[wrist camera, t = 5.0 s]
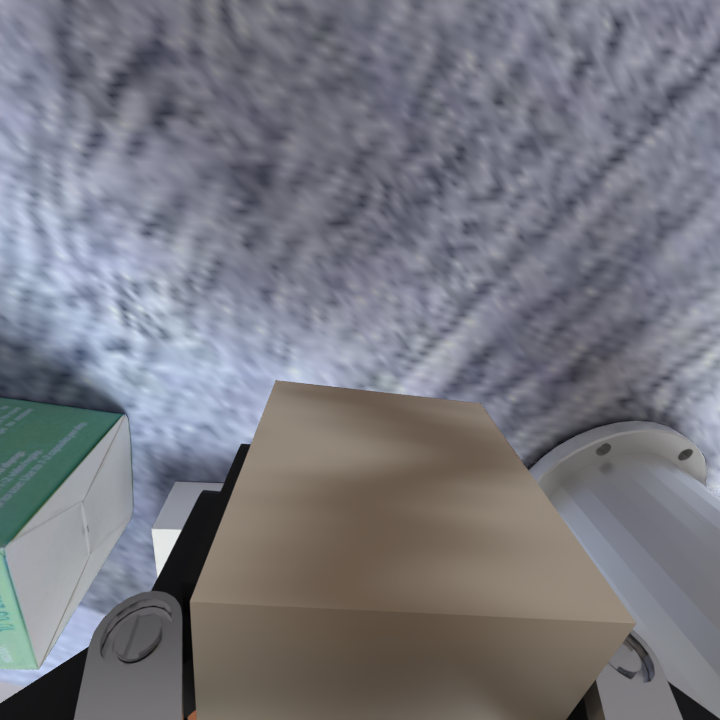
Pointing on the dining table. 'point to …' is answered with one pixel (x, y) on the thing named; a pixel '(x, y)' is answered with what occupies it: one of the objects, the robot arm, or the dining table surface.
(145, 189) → the dining table surface
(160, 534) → the white slab
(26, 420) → the box
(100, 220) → the dining table surface
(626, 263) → the dining table surface
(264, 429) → the maple block
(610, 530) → the robot arm
